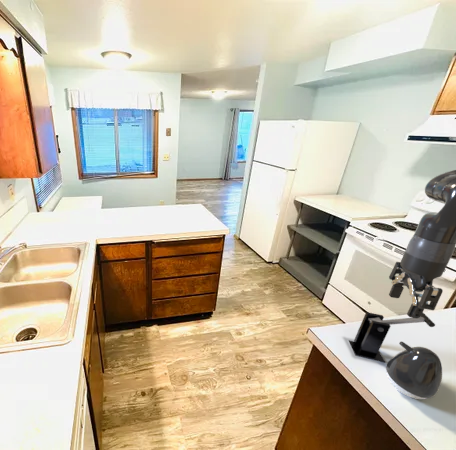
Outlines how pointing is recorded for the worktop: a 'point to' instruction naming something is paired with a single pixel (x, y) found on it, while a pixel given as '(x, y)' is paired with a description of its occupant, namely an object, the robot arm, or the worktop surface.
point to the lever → (405, 320)
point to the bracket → (370, 338)
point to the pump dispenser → (415, 372)
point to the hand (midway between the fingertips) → (402, 306)
